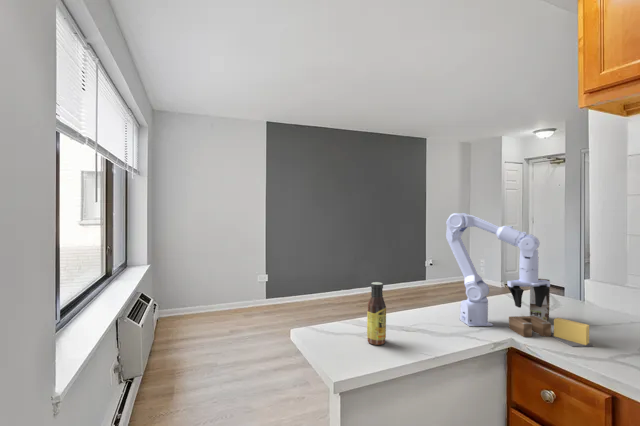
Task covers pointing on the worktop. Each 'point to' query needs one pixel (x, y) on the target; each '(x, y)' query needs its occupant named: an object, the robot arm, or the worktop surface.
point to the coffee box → (539, 311)
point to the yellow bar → (571, 331)
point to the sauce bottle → (376, 315)
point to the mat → (570, 342)
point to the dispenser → (529, 326)
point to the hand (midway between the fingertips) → (528, 306)
